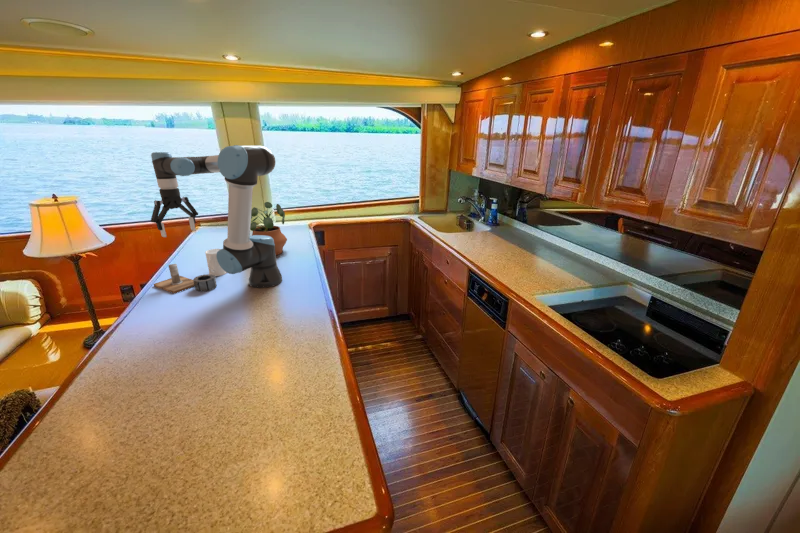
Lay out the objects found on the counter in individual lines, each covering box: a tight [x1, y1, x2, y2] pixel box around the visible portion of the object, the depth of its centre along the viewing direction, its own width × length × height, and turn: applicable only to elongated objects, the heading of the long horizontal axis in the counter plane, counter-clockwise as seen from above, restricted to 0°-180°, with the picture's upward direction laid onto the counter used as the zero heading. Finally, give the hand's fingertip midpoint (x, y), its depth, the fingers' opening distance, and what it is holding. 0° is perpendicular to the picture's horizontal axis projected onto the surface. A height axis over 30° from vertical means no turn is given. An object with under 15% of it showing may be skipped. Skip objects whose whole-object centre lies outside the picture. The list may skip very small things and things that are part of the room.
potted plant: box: [250, 201, 288, 256], centre depth 198 cm, size 23×28×30 cm
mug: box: [204, 248, 228, 277], centre depth 169 cm, size 12×8×12 cm
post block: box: [153, 263, 195, 294], centre depth 156 cm, size 16×12×10 cm
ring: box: [192, 273, 218, 293], centre depth 155 cm, size 8×8×5 cm
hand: (179, 233), depth 159 cm, fingers open, 13 cm apart
